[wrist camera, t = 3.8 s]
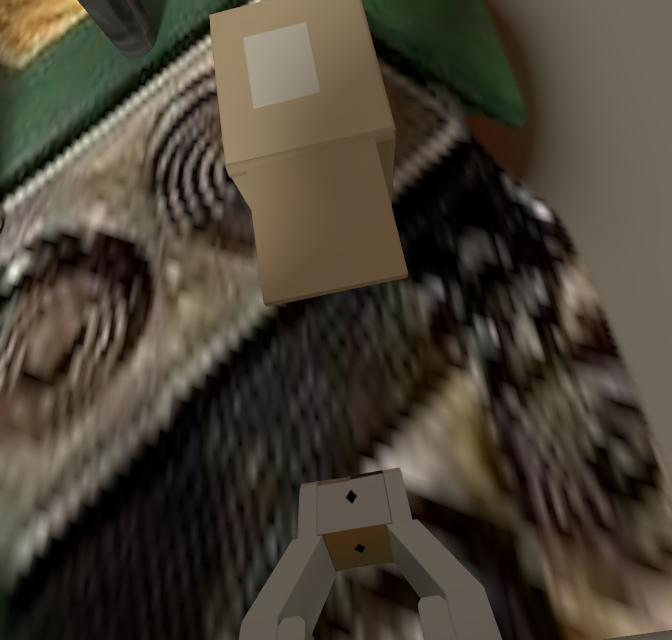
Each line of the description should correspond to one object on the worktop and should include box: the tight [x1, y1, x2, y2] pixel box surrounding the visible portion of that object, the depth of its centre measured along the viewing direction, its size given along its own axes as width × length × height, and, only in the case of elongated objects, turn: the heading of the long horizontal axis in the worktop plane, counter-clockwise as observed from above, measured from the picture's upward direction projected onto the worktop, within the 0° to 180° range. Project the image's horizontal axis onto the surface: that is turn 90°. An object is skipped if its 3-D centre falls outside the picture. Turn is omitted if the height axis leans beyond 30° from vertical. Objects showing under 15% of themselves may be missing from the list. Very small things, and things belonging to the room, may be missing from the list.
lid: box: [209, 0, 408, 306], centre depth 24 cm, size 22×10×1 cm, turn 10°
